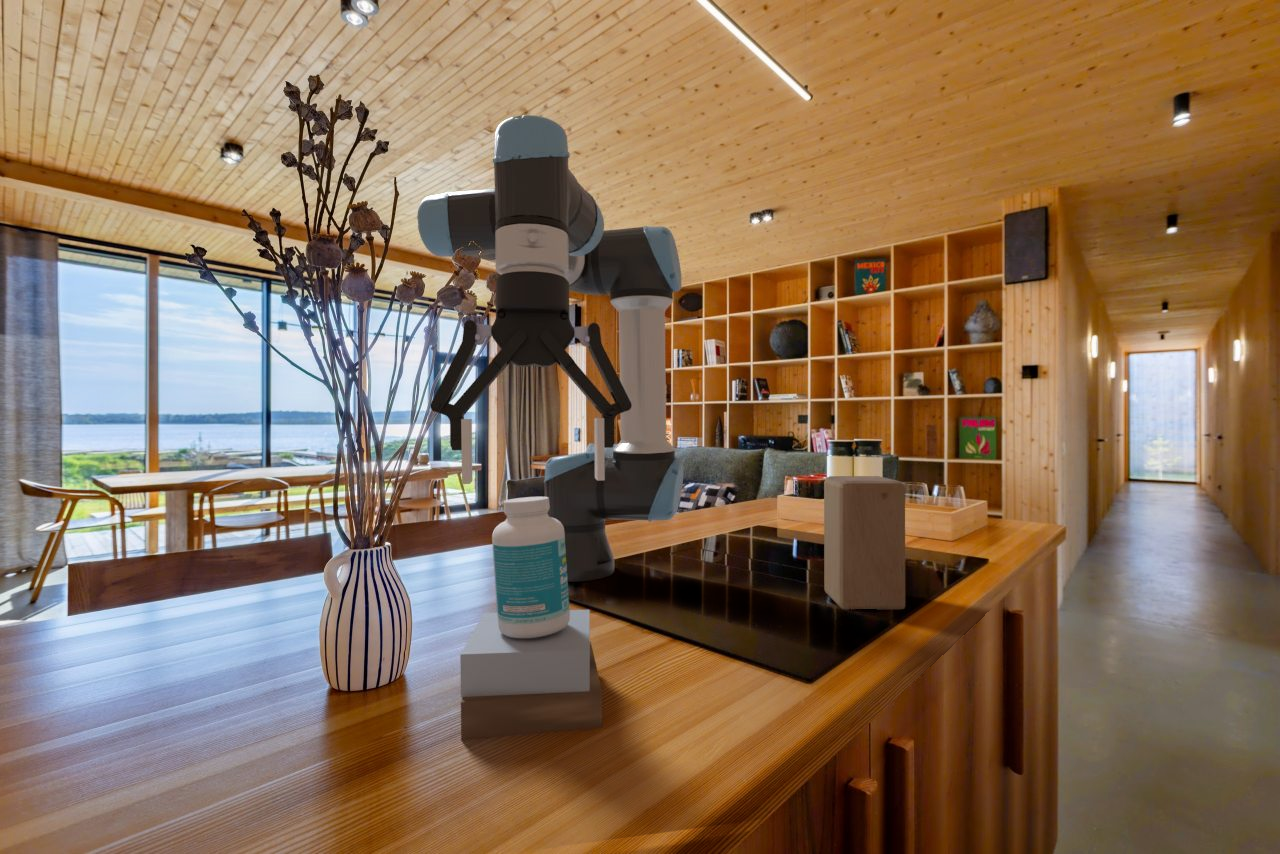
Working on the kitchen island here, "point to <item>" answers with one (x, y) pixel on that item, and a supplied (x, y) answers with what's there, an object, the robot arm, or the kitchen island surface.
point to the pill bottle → (530, 570)
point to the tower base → (533, 711)
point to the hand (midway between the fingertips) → (534, 481)
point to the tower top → (526, 660)
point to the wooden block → (864, 542)
